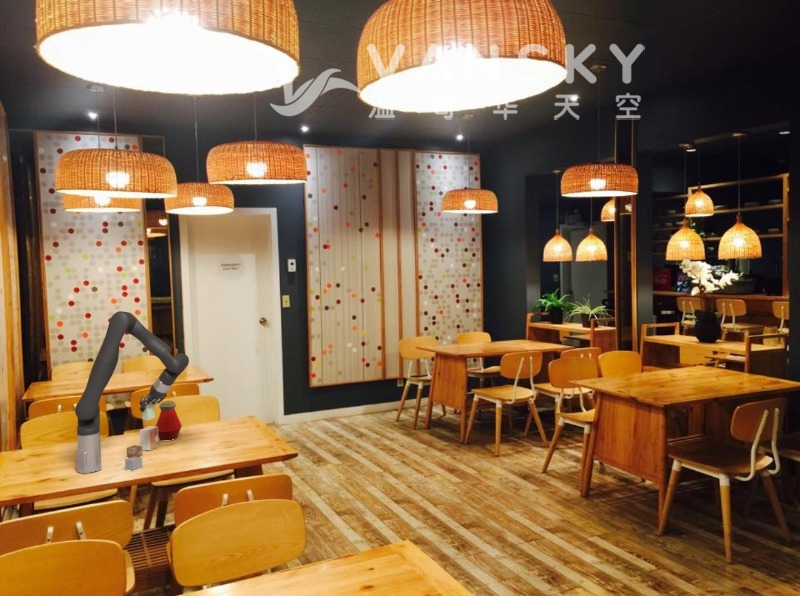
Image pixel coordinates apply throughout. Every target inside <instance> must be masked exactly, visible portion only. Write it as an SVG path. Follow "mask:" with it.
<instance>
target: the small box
mask: <svg viewBox="0 0 800 596" xmlns="http://www.w3.org/2000/svg"><path fill="white" fill-rule="evenodd" d="M159 440H160V438H159V435H158V427H157V426H156V425H155V426H152V425H151V426H150V425H148V426H146V427H144V428H142V429H139V442H140V444H139V446H142V451H145V450H149V451H150V450H151V451H153V450H154V448H155V449H157V448H159V447H160V441H159ZM158 446H159V447H158ZM156 447H157V448H156Z"/></svg>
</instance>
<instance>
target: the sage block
mask: <svg viewBox="0 0 800 596" xmlns="http://www.w3.org/2000/svg"><path fill="white" fill-rule="evenodd" d="M145 404H147V403H145ZM155 412H156V411H155V405H154V404H152V403H151V404H150V405H148V406H147V407H146V409H145V410H144V411H143V412H141V419H142V420H144V421H149V420H150V421H151V420H153V419H155V418H156V414H155Z"/></svg>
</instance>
